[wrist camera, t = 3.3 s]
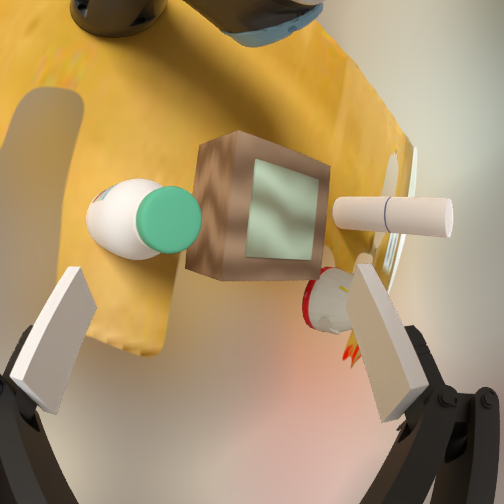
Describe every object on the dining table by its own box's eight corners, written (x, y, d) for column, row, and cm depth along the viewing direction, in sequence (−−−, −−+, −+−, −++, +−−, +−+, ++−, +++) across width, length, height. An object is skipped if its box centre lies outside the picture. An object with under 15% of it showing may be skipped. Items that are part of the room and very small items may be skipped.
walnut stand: (199, 145, 41) (239, 129, 33) (287, 171, 52) (331, 165, 44) (185, 268, 42) (222, 281, 34) (277, 270, 53) (320, 279, 45)
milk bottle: (135, 253, 37) (212, 283, 22) (80, 244, 32) (108, 270, 17) (147, 195, 37) (232, 180, 22) (93, 182, 32) (134, 148, 17)
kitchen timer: (328, 253, 62) (390, 262, 51) (347, 293, 69) (402, 306, 57) (292, 303, 57) (357, 323, 45) (317, 340, 64) (374, 360, 52)
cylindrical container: (333, 194, 61) (445, 195, 42) (350, 198, 66) (453, 200, 46) (331, 228, 62) (443, 237, 42) (349, 229, 66) (452, 238, 47)
